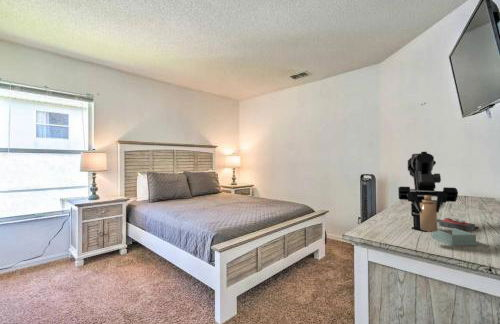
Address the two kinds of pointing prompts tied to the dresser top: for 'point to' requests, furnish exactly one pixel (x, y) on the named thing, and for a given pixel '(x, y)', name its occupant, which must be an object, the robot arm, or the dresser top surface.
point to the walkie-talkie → (457, 224)
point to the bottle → (428, 214)
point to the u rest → (456, 237)
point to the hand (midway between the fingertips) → (428, 211)
